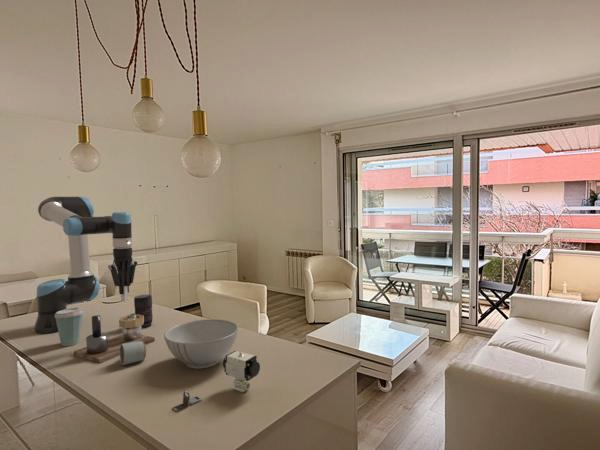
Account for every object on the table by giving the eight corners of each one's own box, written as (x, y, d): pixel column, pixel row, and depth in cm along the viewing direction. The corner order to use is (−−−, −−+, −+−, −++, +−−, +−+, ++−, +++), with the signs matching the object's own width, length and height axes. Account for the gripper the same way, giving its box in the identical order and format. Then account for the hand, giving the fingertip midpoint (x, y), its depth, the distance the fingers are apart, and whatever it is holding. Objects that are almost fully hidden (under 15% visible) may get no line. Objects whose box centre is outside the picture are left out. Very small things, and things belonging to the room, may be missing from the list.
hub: (119, 339, 159) (118, 320, 159) (134, 334, 166) (133, 315, 165) (130, 342, 156) (129, 322, 155) (145, 336, 162) (144, 317, 162)
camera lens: (156, 323, 185) (154, 294, 184) (147, 328, 177) (146, 298, 176) (140, 323, 186) (139, 294, 185) (132, 328, 178) (130, 298, 177)
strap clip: (197, 398, 113) (196, 384, 112) (202, 401, 110) (202, 387, 110) (171, 409, 106) (170, 395, 106) (176, 413, 104) (175, 399, 104)
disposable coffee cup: (52, 349, 153) (50, 314, 152) (58, 341, 163) (57, 307, 162) (82, 345, 157) (80, 311, 156) (86, 337, 167) (84, 304, 166)
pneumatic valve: (232, 381, 122) (231, 346, 121) (261, 390, 116) (260, 353, 115) (221, 389, 117) (219, 352, 117) (249, 398, 111) (248, 359, 110)
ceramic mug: (147, 362, 139) (146, 341, 139) (124, 368, 134) (123, 347, 134) (139, 354, 147) (138, 335, 147) (117, 359, 142) (116, 339, 142)
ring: (118, 329, 155) (117, 320, 154) (122, 322, 164) (121, 314, 163) (142, 326, 157) (142, 318, 157) (144, 320, 166) (144, 312, 166)
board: (73, 355, 147) (73, 351, 147) (128, 335, 169) (128, 331, 169) (100, 363, 139) (100, 359, 139) (154, 340, 161) (154, 337, 161)
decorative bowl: (159, 382, 123) (157, 346, 122) (171, 351, 149) (170, 321, 148) (240, 373, 128) (239, 339, 127) (238, 345, 154) (237, 316, 154)
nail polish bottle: (82, 352, 145) (81, 317, 145) (100, 346, 152) (99, 312, 151) (94, 356, 142) (92, 320, 141) (112, 349, 148) (110, 315, 148)
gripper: (114, 249, 153) (116, 305, 155) (141, 246, 165) (142, 298, 166) (103, 248, 157) (105, 303, 158) (130, 245, 168) (131, 296, 170)
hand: (124, 300), depth 162 cm, fingers closed
